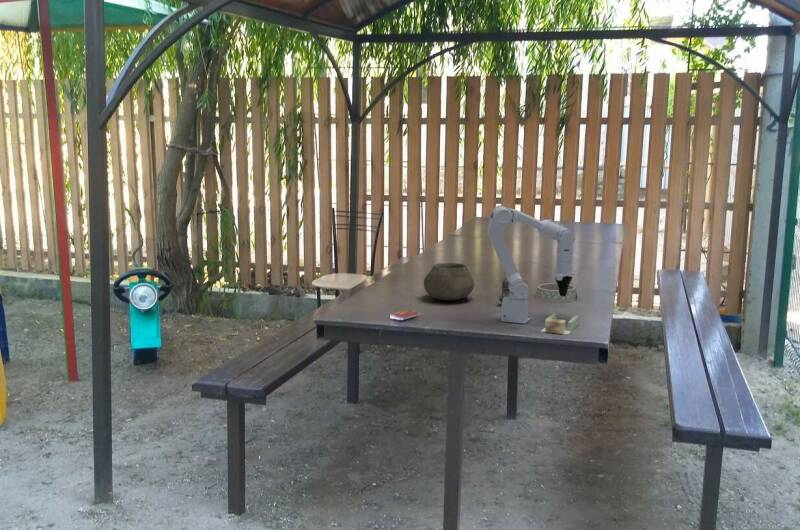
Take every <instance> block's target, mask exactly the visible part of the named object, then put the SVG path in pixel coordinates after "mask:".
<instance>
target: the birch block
mask: <svg viewBox="0 0 800 530" xmlns="http://www.w3.org/2000/svg"><path fill="white" fill-rule="evenodd" d="M566 323H567V322H566V319H559V318H557V319H551V318H549V319H548V320H547V321H546V329H545V332H544V333H550V334H558V335H564V334H563V333H564V332H565V330H566Z"/></svg>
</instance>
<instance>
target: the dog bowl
mask: <svg viewBox="0 0 800 530" xmlns="http://www.w3.org/2000/svg"><path fill="white" fill-rule="evenodd" d="M535 298H536V300H537V299H538V301H540V300H541V301H540V302H544V301H545V303H551V304H552V303H553V304H556V303H557V304H563V303H564V304H566V303H573V302H576V298H578V292H577V288H576V286H575V285H573V284H571V283H570V284H569V287H568V291H567V295H566V296H560V294H559V288H558V285H557V282H548V283H547V282H546V283H542V284H539V285H538V286H536V290H535Z"/></svg>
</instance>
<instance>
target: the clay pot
mask: <svg viewBox="0 0 800 530" xmlns="http://www.w3.org/2000/svg"><path fill="white" fill-rule="evenodd" d="M474 287H475V280H474V278H473V276H472V275H471V273H470V271H469V268H468V265H467V264H464V263H459V262H458V263H456V262H441V263H440V262H439V263H435V264H433V265H432V267H431V269H430V270H429V272H428V273H427V274H426V275H425V277H424V279H423V288H424V290H425V292H426V294H428V295H429V296H430V297H432V298H435V300H439V301H445V302H446V301H447V302H448V301H451V302H453V301H458V300H459V301H460V300H462V299H464V298H466V297H467V296H469V295H470V294H471V293H472V292H473V290H474Z"/></svg>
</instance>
